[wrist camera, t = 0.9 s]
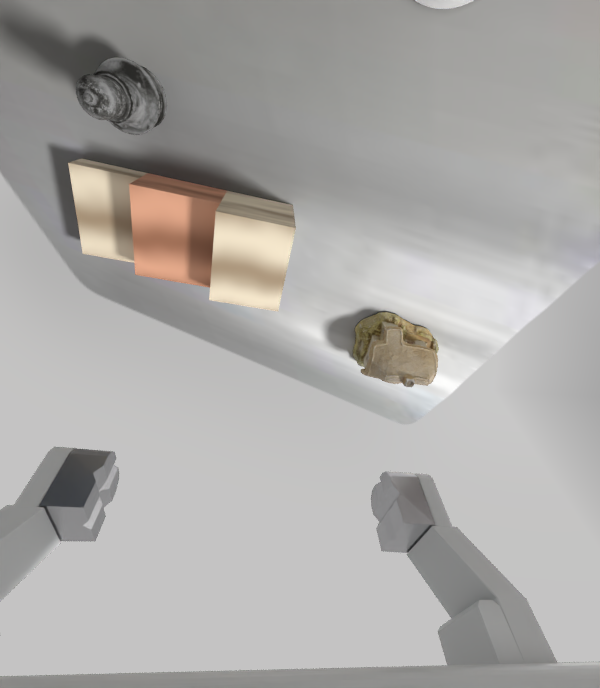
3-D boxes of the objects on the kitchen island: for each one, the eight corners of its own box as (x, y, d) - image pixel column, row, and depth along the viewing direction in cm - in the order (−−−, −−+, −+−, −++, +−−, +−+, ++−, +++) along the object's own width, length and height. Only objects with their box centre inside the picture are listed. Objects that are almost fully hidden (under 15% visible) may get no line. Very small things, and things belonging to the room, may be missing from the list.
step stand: (81, 158, 37) (33, 173, 30) (292, 205, 41) (295, 228, 34) (93, 244, 43) (56, 274, 36) (278, 278, 47) (278, 311, 40)
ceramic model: (341, 362, 57) (351, 406, 49) (362, 306, 51) (378, 346, 42) (417, 373, 59) (438, 416, 51) (446, 320, 53) (476, 360, 45)
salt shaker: (122, 133, 36) (64, 146, 26) (99, 62, 32) (23, 48, 23) (176, 129, 36) (139, 141, 26) (159, 58, 33) (109, 41, 23)
